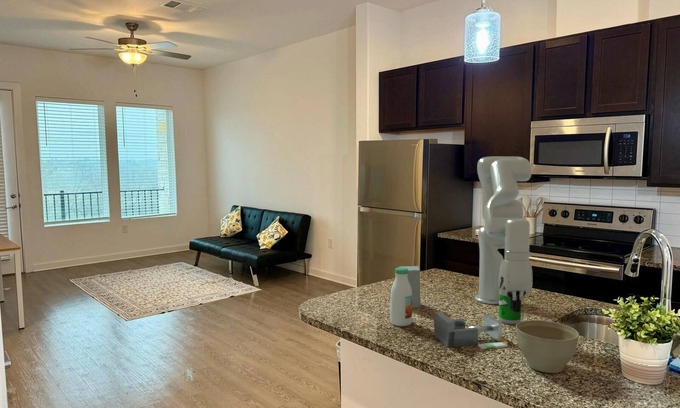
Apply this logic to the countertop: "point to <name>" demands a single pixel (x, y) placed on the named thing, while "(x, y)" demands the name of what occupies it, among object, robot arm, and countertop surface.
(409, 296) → the milk bottle
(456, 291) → the countertop surface
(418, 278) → the skincare box
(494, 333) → the plunger
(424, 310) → the countertop surface
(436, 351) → the countertop surface
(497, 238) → the robot arm
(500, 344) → the strip
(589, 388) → the countertop surface
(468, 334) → the bracket
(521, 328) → the planter bowl
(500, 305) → the soda can
